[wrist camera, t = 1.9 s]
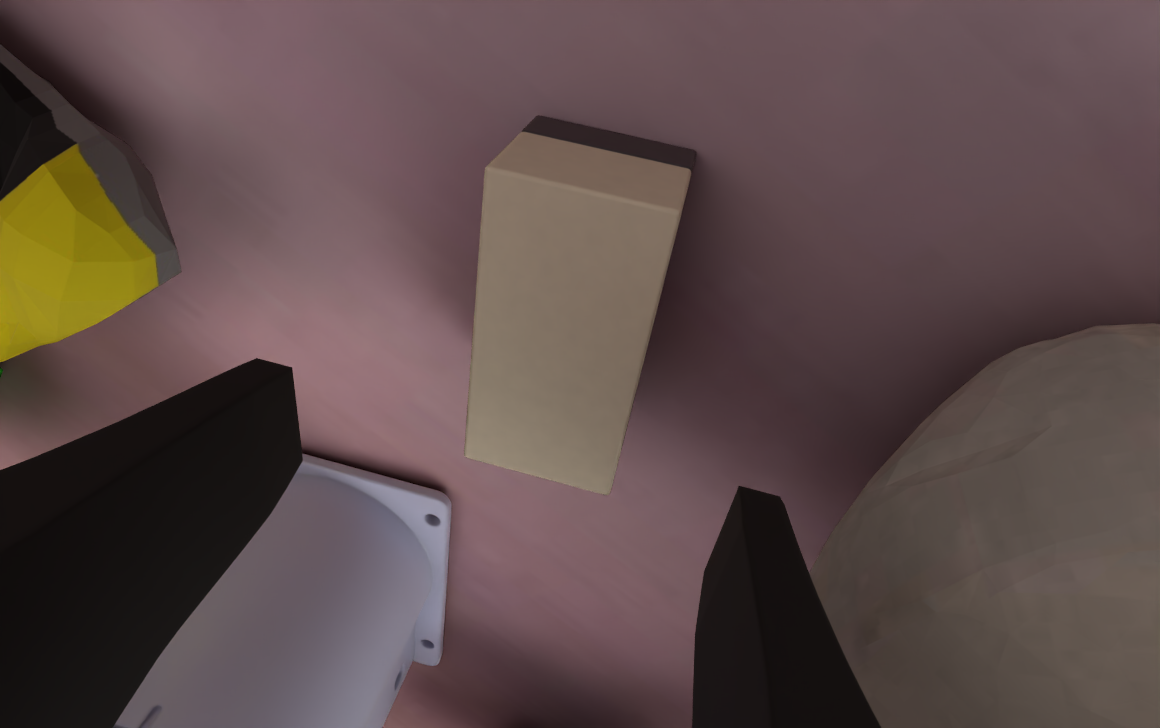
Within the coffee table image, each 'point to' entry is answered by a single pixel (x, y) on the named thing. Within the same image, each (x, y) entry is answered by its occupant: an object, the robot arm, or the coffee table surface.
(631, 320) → the eraser
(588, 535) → the coffee table surface
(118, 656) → the robot arm
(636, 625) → the coffee table surface
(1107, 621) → the sculpture
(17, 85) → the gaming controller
